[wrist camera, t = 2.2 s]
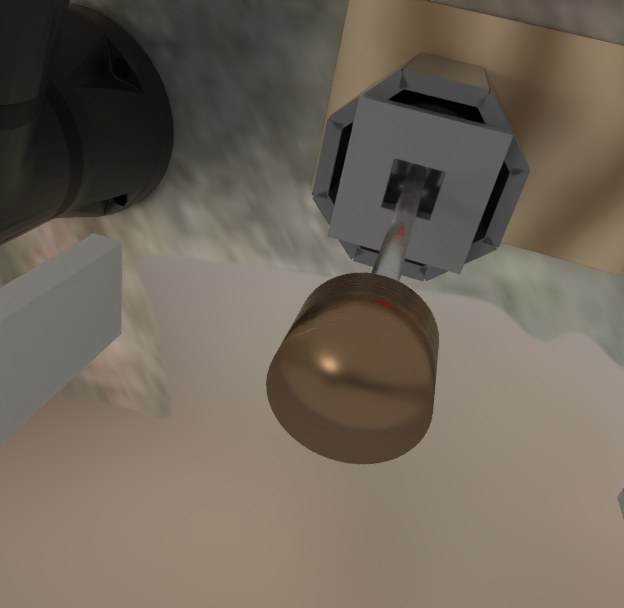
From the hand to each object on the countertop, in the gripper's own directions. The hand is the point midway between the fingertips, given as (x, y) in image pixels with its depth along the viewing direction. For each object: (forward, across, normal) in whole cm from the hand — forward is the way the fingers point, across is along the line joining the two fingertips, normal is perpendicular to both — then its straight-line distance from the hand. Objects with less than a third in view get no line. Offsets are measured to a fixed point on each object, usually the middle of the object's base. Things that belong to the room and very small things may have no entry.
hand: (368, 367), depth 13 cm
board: (+28, +4, +1) cm, 28 cm away
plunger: (+18, 0, 0) cm, 18 cm away
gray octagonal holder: (+26, 0, -1) cm, 26 cm away
